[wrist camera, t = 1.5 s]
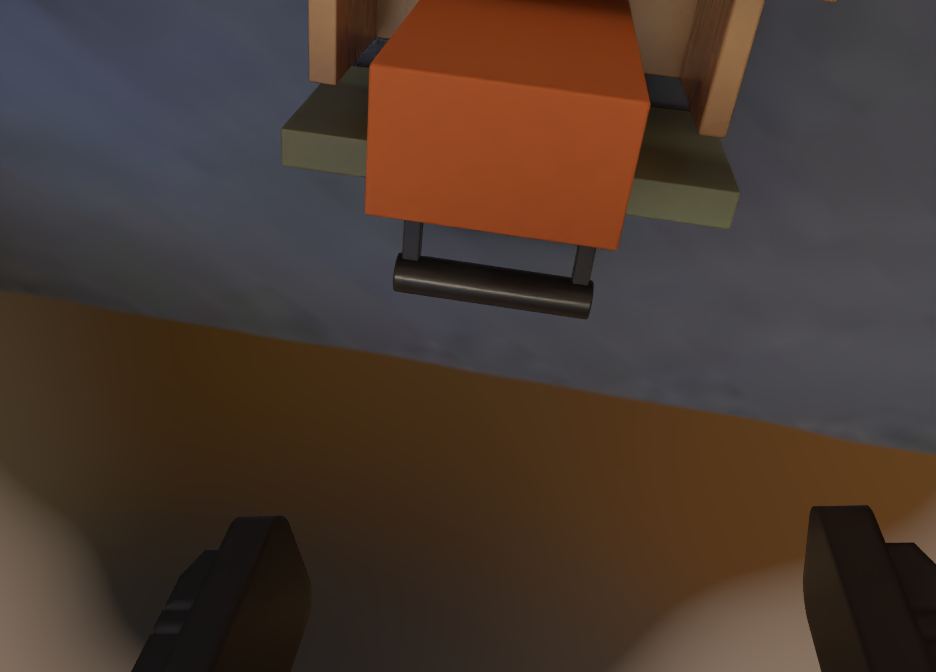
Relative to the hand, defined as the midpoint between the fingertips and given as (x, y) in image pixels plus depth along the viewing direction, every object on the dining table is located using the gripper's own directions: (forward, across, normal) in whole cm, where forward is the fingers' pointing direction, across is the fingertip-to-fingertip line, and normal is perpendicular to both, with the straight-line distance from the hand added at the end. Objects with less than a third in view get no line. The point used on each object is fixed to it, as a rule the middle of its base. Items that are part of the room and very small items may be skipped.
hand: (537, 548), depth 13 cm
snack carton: (+20, +1, -4) cm, 20 cm away
